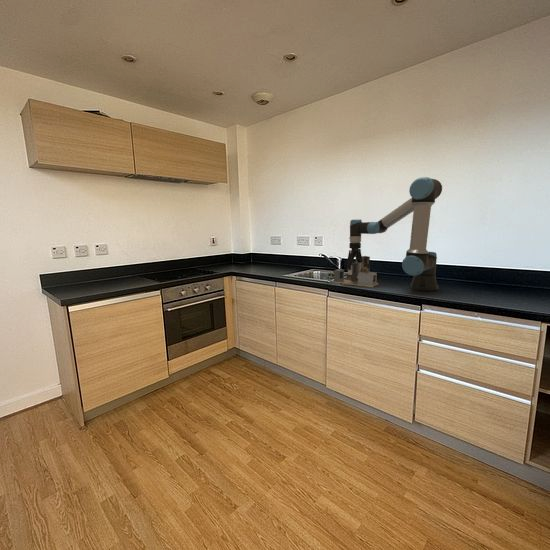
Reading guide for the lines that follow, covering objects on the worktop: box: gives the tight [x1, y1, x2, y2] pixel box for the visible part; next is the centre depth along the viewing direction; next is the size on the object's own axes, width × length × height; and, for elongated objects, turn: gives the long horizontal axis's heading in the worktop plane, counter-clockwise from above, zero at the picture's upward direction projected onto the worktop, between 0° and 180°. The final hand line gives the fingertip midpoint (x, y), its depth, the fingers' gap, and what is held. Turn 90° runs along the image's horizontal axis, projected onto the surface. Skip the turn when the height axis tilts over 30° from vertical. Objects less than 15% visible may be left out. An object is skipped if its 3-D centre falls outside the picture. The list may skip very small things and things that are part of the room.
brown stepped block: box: [346, 262, 374, 282], centre depth 195 cm, size 18×4×13 cm, turn 50°
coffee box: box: [355, 255, 371, 273], centre depth 222 cm, size 9×6×16 cm
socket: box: [333, 268, 345, 282], centre depth 206 cm, size 4×8×8 cm, turn 140°
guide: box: [331, 271, 380, 288], centre depth 199 cm, size 30×10×8 cm, turn 50°
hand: (354, 273), depth 198 cm, fingers open, 13 cm apart
